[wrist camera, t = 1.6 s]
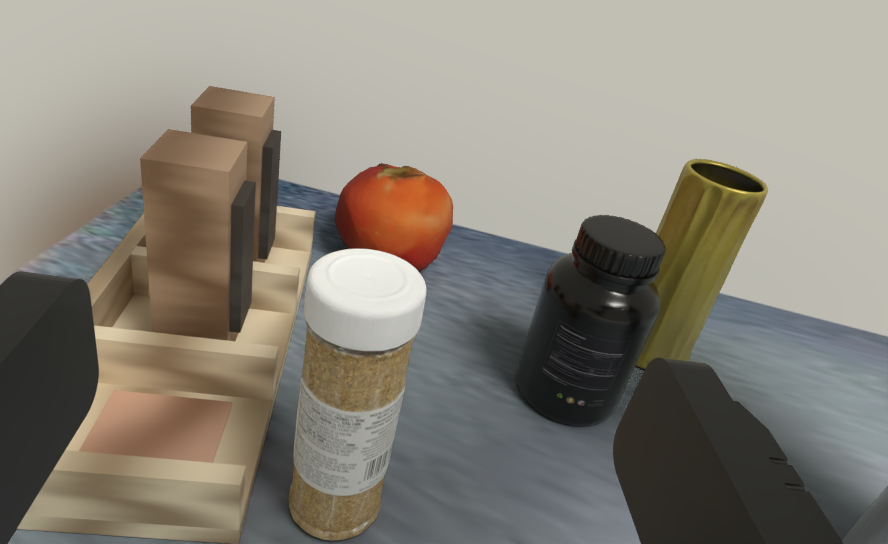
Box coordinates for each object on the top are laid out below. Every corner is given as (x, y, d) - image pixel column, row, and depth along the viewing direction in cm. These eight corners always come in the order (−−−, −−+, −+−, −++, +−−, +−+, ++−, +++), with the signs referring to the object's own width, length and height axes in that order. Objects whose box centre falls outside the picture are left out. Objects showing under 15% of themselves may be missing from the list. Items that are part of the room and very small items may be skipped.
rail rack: (311, 256, 49) (326, 93, 42) (238, 544, 28) (245, 309, 21) (164, 236, 47) (156, 64, 40) (-31, 525, 26) (-117, 265, 19)
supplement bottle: (519, 346, 44) (568, 194, 38) (613, 374, 43) (679, 224, 37) (506, 411, 38) (561, 243, 32) (615, 444, 38) (693, 280, 31)
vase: (634, 314, 51) (705, 151, 43) (701, 357, 47) (790, 188, 40) (592, 338, 47) (662, 162, 39) (662, 386, 43) (753, 204, 36)
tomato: (435, 300, 47) (457, 206, 43) (316, 274, 47) (326, 178, 43) (447, 243, 55) (466, 159, 51) (345, 221, 55) (356, 135, 51)
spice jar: (341, 452, 33) (375, 233, 26) (399, 510, 31) (453, 286, 24) (267, 497, 30) (282, 262, 23) (325, 565, 28) (361, 326, 21)
